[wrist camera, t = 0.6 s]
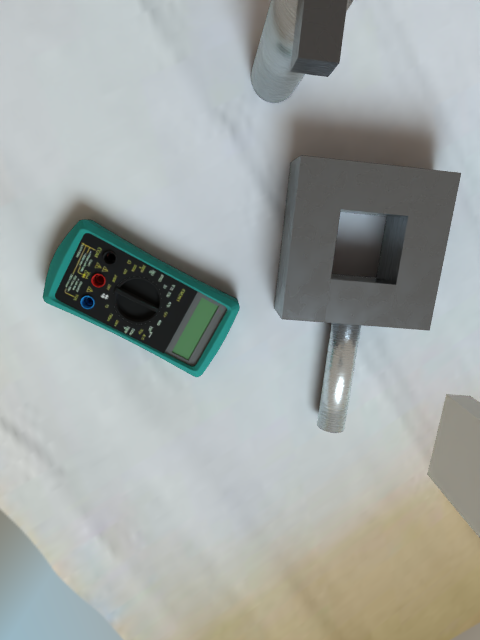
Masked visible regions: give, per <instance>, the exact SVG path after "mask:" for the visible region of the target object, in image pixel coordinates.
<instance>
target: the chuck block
mask: <svg viewBox="0 0 480 640" xmlns="http://www.w3.org/2000/svg"><path fill="white" fill-rule="evenodd" d="M460 176H461V173H457V172H448V171H439V170H430V169H421V168H412V167H402V166H393V165H384V164H375V163H366V162H357V161H348V160H339V159H330V158H321V157H312V156H303V155H301V156H299V157H298V158H297V159H295V160H294V161H292V162H291V164H290V173H289V182H288V191H287V200H286V208H285V217H284V226H283V235H282V244H281V253H280V261H279V270H278V279H277V288H276V297H275V305H274V309H275V310H276V312H277V313H278V315H279V316H280V317H281V319H286V320H299V321H313V322H326V323H332V325H331V332H330V338H329V345H328V352H327V359H326V366H325V373H324V379H323V386H322V393H321V400H320V407H319V414H318V421H317V426H318V427H319V428H320V429H322V430H324V431H327V432H331V433H339V432H342V431H344V427H345V421H346V415H347V408H348V402H349V396H350V390H351V384H352V378H353V371H354V365H355V359H356V353H357V347H358V341H359V335H360V328H361V325H366V326H379V327H392V328H406V329H419V330H430V325H431V320H432V315H433V310H434V305H435V300H436V296H437V291H438V286H439V281H440V276H441V271H442V266H443V261H444V256H445V251H446V246H447V241H448V236H449V231H450V226H451V221H452V216H453V211H454V206H455V201H456V196H457V191H458V186H459V181H460ZM340 212H349V213H359V214H369V215H379V216H387V217H386V223H385V229H384V235H383V241H382V247H381V253H380V259H379V265H378V271H377V277H376V278H373V277H361V276H350V275H338V274H332V267H333V260H334V253H335V245H336V238H337V231H338V224H339V217H340Z"/></svg>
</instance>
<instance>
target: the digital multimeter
mask: <svg viewBox="0 0 480 640" xmlns="http://www.w3.org/2000/svg"><path fill="white" fill-rule="evenodd" d="M99 238H100V239H99ZM101 239H102V240H101ZM112 245H113V246H112ZM114 246H115V247H114ZM125 252H126V253H125ZM127 253H128V254H127ZM72 257H73V258H72ZM71 259H72V260H71ZM138 259H139V260H138ZM70 261H71V262H70ZM69 263H70V264H69ZM164 273H165V274H164ZM134 276H136V277H134ZM129 277H130V278H129ZM177 280H178V281H177ZM120 282H121V283H120ZM118 284H119V285H118ZM58 286H59V287H58ZM190 287H191V288H190ZM43 299H44V301H45V302H46V303H48V304H50V305H53V306H55V307H57V308H60V309H62V310H64V311H66V312H69V313H71V314H73V315H76V316H78V317H80V318H82V319H84V320H86V321H89V322H91V323H93V324H95V325H97V326H99V327H101V328H104V329H106V330H108V331H110V332H112V333H114V334H116V335H118V336H120V337H122V338H124V339H126V340H128V341H130V342H132V343H134V344H136V345H138V346H140V347H142V348H144V349H145V350H147V351H149V352H151V353H153V354H155V355H157V356H159V357H160V358H162V359H164V360H166V361H167V362H169V363H171V364H173V365H175V366H176V367H178V368H180V369H182V370H184V371H185V372H187V373H189V374H191V375H192V376H195V377H199V376H201V375H202V374H203V372H204V371H205V370H206V368H207V367H208V365H209V364H210V362H211V361H212V359H213V358H214V356H215V355H216V353H217V352H218V350H219V348H220V347H221V345H222V343H223V341H224V340H225V338H226V336H227V334H228V332H229V330H230V328H231V326H232V324H233V322H234V320H235V317H236V315H237V313H238V311H239V308H240V307H239V303H238V300H237V299H236V298H234V297H232V296H230V295H228V294H226V293H224V292H221V291H219V290H217V289H215V288H213V287H211V286H209V285H207V284H205V283H203V282H201V281H199V280H197V279H195V278H193V277H191V276H189V275H187V274H185V273H183V272H181V271H180V270H178V269H176V268H174V267H172V266H170V265H168V264H166V263H164V262H162V261H161V260H159V259H157V258H155V257H153V256H152V255H150V254H148V253H146V252H145V251H143V250H141V249H140V248H138V247H136V246H134V245H133V244H131V243H129V242H127V241H126V240H124V239H122V238H121V237H119V236H117V235H116V234H114V233H112V232H111V231H109V230H107V229H106V228H104V227H102V226H101V225H99V224H98V223H96V222H94V221H93V220H79V222H78V223H77V224H76V225H75V226H74V227H73V229H72V230H71V231H70V232H69V233H68V234H67V236H66V237H65V238H64V240H63V241H62V243H61V244H60V246H59V247H58V248H57V250H56V252H55V254H54V257H53V259H52V261H51V263H50V266H49V270H48V274H47V277H46V282H45V288H44V293H43ZM114 307H115V308H114ZM226 311H227V312H226ZM223 316H224V317H223ZM127 321H128V322H127ZM149 321H150V322H149Z"/></svg>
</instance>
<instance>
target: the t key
mask: <svg viewBox="0 0 480 640" xmlns="http://www.w3.org/2000/svg"><path fill="white" fill-rule="evenodd" d="M352 2H353V0H271V3H270V7H269V11H268V14H267V18H266V21H265V25H264V28H263V32H262V36H261V39H260V43H259V46H258V50H257V53H256V57H255V60H254V64H253V68H252V71H251V82H252V86H253V89H254V91H255V92H256V94H257V95H258V96H259V97H260V98H261V99H263V100H265V101H267V102H271V103H278V102H282V101H284V100H286V99H287V98H288V97H290V96H291V94H292V93H293V92H294V90H295V89H296V87H297V86H298V84H299V83H300V81H301V79H302V78H303V76H304V75H305V74H310V75H318V76H326V77H328V76H329V75H330V74H331V72H332V71H333V70H334V69H335V68H336V66H337V65H338V64H339V61H340V54H341V46H342V38H343V31H344V23H345V16H346V11H347V10H348V8H349V6H350V5H351V3H352Z"/></svg>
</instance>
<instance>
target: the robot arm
mask: <svg viewBox="0 0 480 640" xmlns="http://www.w3.org/2000/svg"><path fill="white" fill-rule="evenodd" d="M427 475H428V476H429V477H430V478H431V479H432V481H433V482H434V483H435V484H436V485H437V487H438V488H439V489H440V490H441V492H442V493H443V494H444V495H445V496H446V498H447V499H448V500H449V501H450V502H451V504H452V505H453V506H454V507H455V509H456V510H457V511H458V512H459V513H460V515H461V516H462V517H463V518H464V520H465V521H466V522H467V523H468V524H469V526H470V527H471V528H472V529H473V530H474V532H475V533H476V534H477V535H478V537H479V538H480V402H478V401H477V400H475V399H474V398H473V397H471V396H464V395H450V394H446V398H445V402H444V406H443V411H442V415H441V419H440V423H439V427H438V431H437V436H436V440H435V444H434V448H433V452H432V457H431V461H430V465H429V469H428V473H427Z"/></svg>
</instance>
